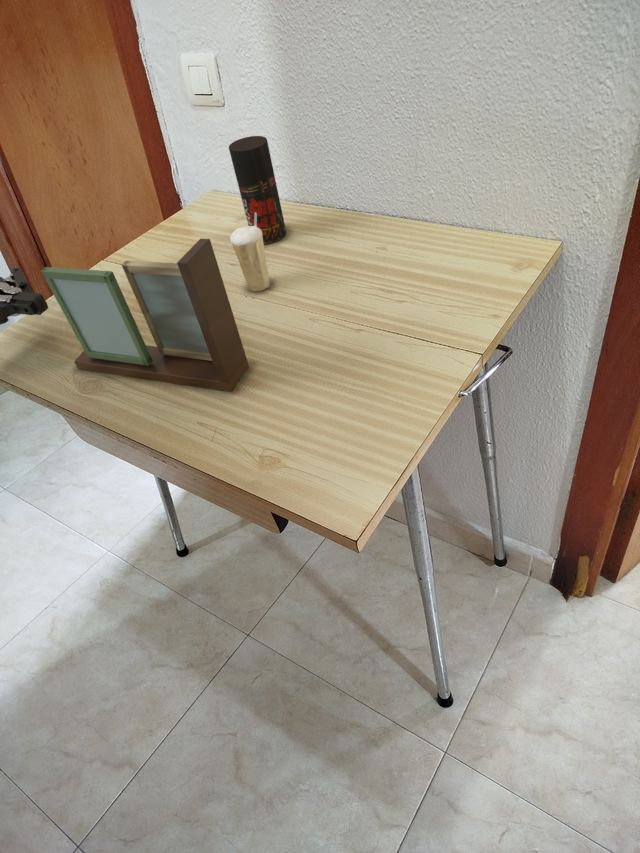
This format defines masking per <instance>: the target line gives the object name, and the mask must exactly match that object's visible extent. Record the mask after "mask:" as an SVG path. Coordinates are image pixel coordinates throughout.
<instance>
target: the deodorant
mask: <svg viewBox="0 0 640 853" xmlns="http://www.w3.org/2000/svg"><path fill="white" fill-rule="evenodd" d="M228 151H229V155H230V159H231V162H232V167H233V170H234V174H235V178H236V183H237V186H238V190H239V194H240V198H241V201H242V206H243V209H244V213H245V217H246V221H247V226H254V213H257V228H259V229H261V231H262V235H263V243H264V245H271V244H274V243H277V242H280V241H281V240H283V239H284V238H285V237H286V236H287V228H286V224H285V218H284V214H283V209H282V205H281V200H280V196H279V191H278V185H277V181H276V175H275V171H274V166H273V162H272V156H271V152H270V148H269V143H268V139H267V137H265V136H264V135H263V136H262V135H250V136H246V137H241V138H239V139H237V140H234V141H233V142H231V143H230V144H229V146H228Z"/></svg>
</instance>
